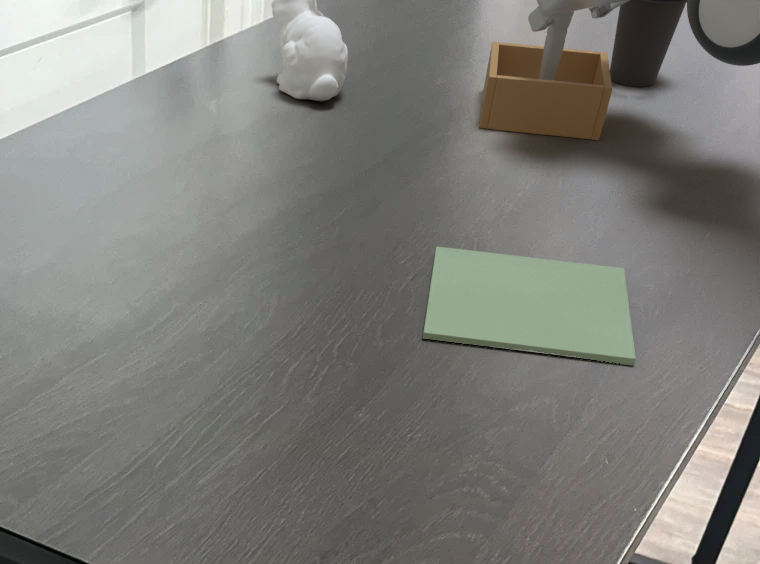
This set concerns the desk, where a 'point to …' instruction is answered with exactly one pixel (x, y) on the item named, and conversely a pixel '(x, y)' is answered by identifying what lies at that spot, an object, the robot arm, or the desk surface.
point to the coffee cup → (643, 40)
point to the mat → (530, 305)
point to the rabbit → (309, 51)
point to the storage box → (546, 92)
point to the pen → (554, 45)
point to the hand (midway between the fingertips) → (565, 17)
